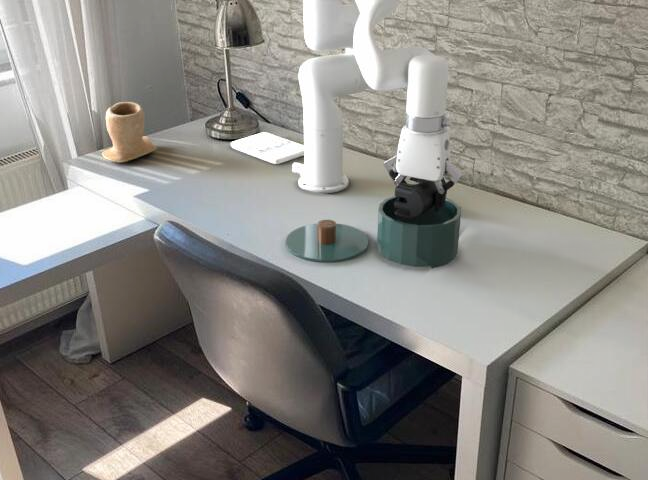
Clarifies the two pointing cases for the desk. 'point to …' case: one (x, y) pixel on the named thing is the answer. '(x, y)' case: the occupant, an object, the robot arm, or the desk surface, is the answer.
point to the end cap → (415, 198)
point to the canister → (419, 235)
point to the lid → (326, 242)
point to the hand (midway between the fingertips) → (420, 205)
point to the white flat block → (269, 147)
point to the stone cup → (126, 132)
